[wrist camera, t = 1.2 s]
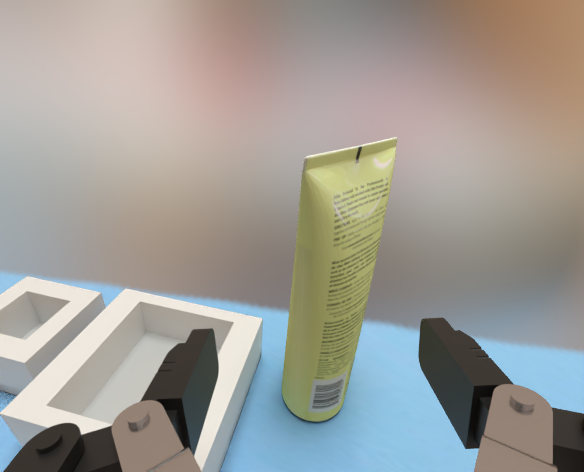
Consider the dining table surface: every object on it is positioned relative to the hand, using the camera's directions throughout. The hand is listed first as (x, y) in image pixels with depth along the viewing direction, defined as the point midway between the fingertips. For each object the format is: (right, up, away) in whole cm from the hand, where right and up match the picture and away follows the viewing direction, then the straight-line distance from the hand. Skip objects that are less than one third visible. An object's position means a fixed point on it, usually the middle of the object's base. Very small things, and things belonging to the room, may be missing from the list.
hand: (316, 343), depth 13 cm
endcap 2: (-11, -8, +12) cm, 18 cm away
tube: (+1, -8, +13) cm, 16 cm away
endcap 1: (-21, -5, +14) cm, 26 cm away
